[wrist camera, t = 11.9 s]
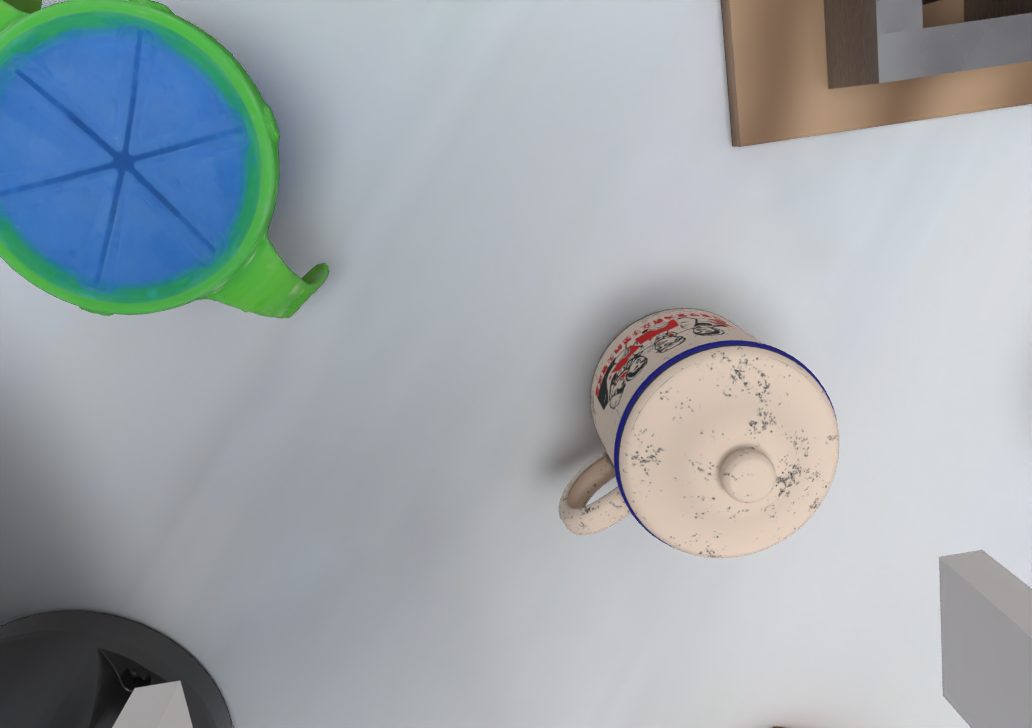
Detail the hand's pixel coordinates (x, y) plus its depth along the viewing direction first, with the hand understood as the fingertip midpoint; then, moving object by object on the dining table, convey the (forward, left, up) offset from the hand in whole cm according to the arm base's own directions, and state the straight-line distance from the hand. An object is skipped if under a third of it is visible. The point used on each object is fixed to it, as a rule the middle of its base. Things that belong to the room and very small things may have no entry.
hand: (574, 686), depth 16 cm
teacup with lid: (+7, -5, -29) cm, 30 cm away
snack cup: (-12, +10, -29) cm, 33 cm away
